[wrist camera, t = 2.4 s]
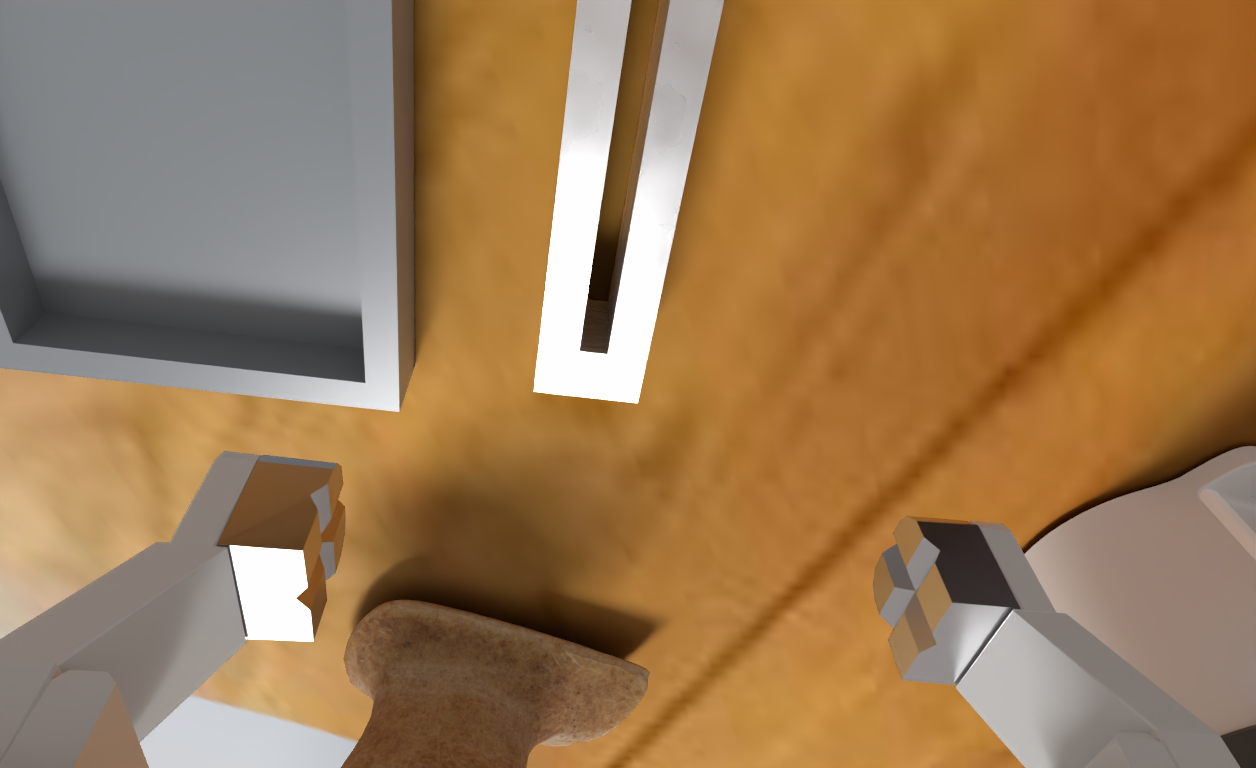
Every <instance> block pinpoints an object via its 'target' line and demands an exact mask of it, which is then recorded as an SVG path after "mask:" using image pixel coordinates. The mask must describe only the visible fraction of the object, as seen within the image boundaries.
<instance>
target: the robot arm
mask: <svg viewBox="0 0 1256 768" xmlns="http://www.w3.org/2000/svg"><path fill="white" fill-rule="evenodd" d="M342 486H343V476H342V467H341V466H340V465H339V464H338V463H329V462H321V461H312V460H304V459H295V458H286V457H278V456H269V455H263V456H262V455H254V454H246V453H237V452H229V451H224V452H223V453H222V454H221V455H219V456H218V457H217V458H216V459H215V460H214V462H213V464H212V466H211V468H210V469H209V471H208V473H207V475H206V477H205V478H204V480H203V482H202V484H201V486H200V487H199V489H198V491H197V493H196V495H195V497H194V498H193V500H192V502H191V504H190V506H189V507H188V509H187V511H186V513H185V515H184V517H183V518H182V520H181V522H180V524H179V526H178V527H177V529H176V531H175V533H174V535H173V536H172V538H171V540H170V542H169V543H168V542H156V543H154V544H153V545H151V546H150V547H148V548H146V549H145V550H143V551H142V552H140V553H138V554H137V555H135V556H134V557H132V558H130V559H129V560H127V561H125V562H124V563H122V564H121V565H119V566H117V567H116V568H114V569H113V570H111V571H109V572H108V573H106V574H105V575H103V576H101V577H100V578H98V579H96V580H95V581H93V582H92V583H90V584H88V585H87V586H85V587H84V588H82V589H80V590H79V591H77V592H76V593H74V594H72V595H71V596H69V597H68V598H66V599H64V600H63V601H61V602H59V603H58V604H56V605H55V606H53V607H51V608H50V609H48V610H47V611H45V612H43V613H42V614H40V615H39V616H37V617H35V618H34V619H32V620H30V621H29V622H27V623H26V624H24V625H22V626H21V627H19V628H18V629H16V630H14V631H13V632H11V633H10V634H8V635H6V636H5V637H3V638H1V639H0V768H149V767H148V764H147V762H146V759H145V756H144V754H143V751H142V748H141V746H140V742H141V741H142V740H143V739H144V738H145V737H146V736H147V735H148V734H149V733H150V732H151V731H152V730H153V729H154V728H155V727H157V726H158V725H159V724H160V723H161V722H162V721H163V720H164V719H165V718H166V717H167V716H168V715H169V714H170V713H171V712H173V711H174V710H175V709H176V708H177V707H178V706H179V705H180V704H181V703H182V702H183V701H184V700H185V699H187V698H188V697H189V696H190V695H191V694H192V693H193V692H194V691H195V690H196V689H197V688H198V687H200V686H201V685H202V684H203V683H204V682H205V681H206V680H207V679H208V678H209V677H210V676H211V675H212V674H213V673H215V672H216V671H217V670H218V669H219V668H220V667H221V666H222V665H223V664H224V663H225V662H226V661H227V660H228V659H230V658H231V657H232V656H233V655H234V654H235V653H236V652H237V651H238V650H239V649H240V648H241V647H242V646H243V645H245V644H246V639H265V640H291V641H314V638H315V635H316V632H317V629H318V626H319V623H320V620H321V617H322V614H323V611H324V608H325V605H326V602H327V593H326V582H325V581H326V580H327V579H328V578H330V577H331V576H332V575H334V574H335V573H336V570H337V567H338V563H339V560H340V557H341V552H342V547H343V541H344V536H345V520H346V518H345V506H344V505H343V504H342V503H341V502H340V501H339V500H338V498H339V495H340V492H341V489H342ZM893 535H894V537H895V540H896V543H897V544H896V545H894V546H893V547H891V548H890V549H888V550H886V551H885V552H883V553H882V555H881V557H880V559H879V561H878V563H877V565H876V567H875V572H874V581H873V590H874V598H875V602H876V605H877V609H878V612H879V615H881V616H882V617H883V618H884V619H885V620H886V621H887V622H888V623H889V624H890V625H891V626H892V627H893V630H892V633H891V635H890V637H889V639H888V641H889V644H890V647H891V650H892V653H893V656H894V659H895V662H896V665H897V667H898V670H899V673H900V676H901V679H902V680H908V681H919V682H929V683H940V684H951V685H957V686H956V689H957V690H958V691H959V692H960V693H961V695H962V696H963V697H964V698H965V699H966V700H967V701H968V703H969V704H970V705H971V706H972V707H973V708H974V709H975V711H976V712H977V713H978V714H979V715H980V716H981V717H982V719H983V720H984V721H985V722H986V723H987V724H988V725H989V727H990V728H991V729H992V730H993V731H994V732H995V733H996V735H997V736H998V737H999V738H1000V739H1001V740H1002V741H1003V743H1004V744H1005V745H1006V746H1007V747H1008V748H1009V750H1010V751H1011V752H1012V753H1013V754H1014V755H1015V756H1016V758H1017V759H1018V760H1019V761H1020V762H1021V763H1022V764H1023V766H1024V767H1025V768H1256V446H1244V447H1240V448H1236V449H1233V450H1231V451H1228V452H1226V453H1224V454H1221V455H1219V456H1217V457H1215V458H1213V459H1211V460H1210V461H1208V462H1206V463H1204V464H1202V465H1200V466H1199V467H1197V468H1195V469H1193V470H1191V471H1190V472H1188V473H1186V474H1184V475H1183V476H1181V477H1179V478H1177V479H1174V480H1172V481H1169V482H1166V483H1163V484H1160V485H1157V486H1154V487H1150V488H1147V489H1144V490H1140V491H1137V492H1133V493H1130V494H1127V495H1124V496H1121V497H1118V498H1115V499H1113V500H1110V501H1107V502H1105V503H1103V504H1100V505H1098V506H1096V507H1093V508H1091V509H1089V510H1087V511H1085V512H1083V513H1081V514H1079V515H1077V516H1076V517H1074V518H1072V519H1070V520H1068V521H1067V522H1065V523H1063V524H1062V525H1060V526H1059V527H1057V528H1056V529H1054V530H1053V531H1051V532H1050V533H1049V534H1047V535H1046V536H1044V537H1043V538H1042V539H1041V540H1039V541H1038V542H1037V543H1036V544H1035V545H1034V546H1032V547H1031V548H1030V549H1029V550H1028V551H1027V552H1026V553H1025V554H1024V553H1023V551H1022V549H1021V548H1020V546H1019V544H1018V542H1017V540H1016V539H1015V537H1014V535H1013V533H1012V531H1011V530H1010V529H1009V528H1007V527H1006V526H1005V525H1004V524H998V523H986V522H974V521H970V522H968V521H961V520H949V519H937V518H925V517H913V516H906V517H905V518H904V519H902V520H901V521H899V523H898V525H897V527H896V528H895V530H894V532H893Z"/></svg>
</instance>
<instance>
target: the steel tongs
mask: <svg viewBox="0 0 1256 768" xmlns="http://www.w3.org/2000/svg"><path fill="white" fill-rule="evenodd" d="M631 1H632V0H578V1H577V10H576V18H575V27H574V36H573V45H572V54H571V63H570V72H569V81H568V90H567V99H566V108H565V117H564V126H563V135H562V144H561V153H560V162H559V171H558V180H557V189H556V198H555V207H554V216H553V225H552V234H551V243H550V252H549V261H548V270H547V279H546V288H545V296H544V305H543V314H542V323H541V332H540V341H539V350H538V359H537V368H536V377H535V386H534V391H535V392H544V393H553V394H561V395H570V396H579V397H588V398H596V399H605V400H614V401H622V402H631V403H638V399H639V395H640V390H641V385H642V381H643V376H644V371H645V367H646V362H647V358H648V353H649V348H650V344H651V339H652V334H653V330H654V325H655V320H656V316H657V311H658V306H659V302H660V297H661V292H662V288H663V283H664V278H665V274H666V269H667V264H668V260H669V255H670V250H671V246H672V241H673V236H674V232H675V227H676V222H677V218H678V213H679V208H680V204H681V199H682V194H683V190H684V185H685V180H686V176H687V171H688V167H689V162H690V157H691V153H692V148H693V143H694V139H695V134H696V129H697V125H698V120H699V115H700V111H701V106H702V101H703V97H704V92H705V87H706V83H707V78H708V73H709V69H710V64H711V59H712V55H713V50H714V45H715V41H716V36H717V31H718V27H719V22H720V17H721V13H722V8H723V3H724V0H659V3H658V9H657V15H656V21H655V27H654V33H653V39H652V45H651V50H650V56H649V62H648V68H647V74H646V80H645V86H644V92H643V98H642V104H641V110H640V116H639V122H638V127H637V133H636V139H635V145H634V151H633V157H632V163H631V169H630V175H629V181H628V187H627V193H626V199H625V204H624V210H623V216H622V222H621V228H620V234H619V240H618V246H617V252H616V258H615V264H614V270H613V276H612V281H611V287H610V293H609V299H608V302H607V301H600V300H592V299H587V295H588V289H589V282H590V275H591V269H592V262H593V255H594V249H595V242H596V235H597V229H598V222H599V215H600V209H601V202H602V195H603V188H604V182H605V175H606V168H607V162H608V155H609V148H610V142H611V135H612V128H613V122H614V115H615V108H616V102H617V95H618V88H619V81H620V75H621V68H622V61H623V55H624V48H625V41H626V35H627V28H628V21H629V15H630V8H631Z"/></svg>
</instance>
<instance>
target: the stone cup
mask: <svg viewBox="0 0 1256 768" xmlns="http://www.w3.org/2000/svg"><path fill="white" fill-rule="evenodd" d="M344 662H345V667H346V671H347V674H348V676H349V679H350V682H351V683H352V684H353V685H354V686H355V687H356V688H358V689H359V690H360V691H361V692H363V693H364V694H366V695H367V696H369V697H370V698H372V699H373V701H374V704H373V709H372V714H371V718H370V720H369V722H368V724H367V726H366V728H365V730H364V733H363V735H362V736H361V738H360V739H359V741H358V743H357V744H356V746H355V748H354V749H353V751H352V752H351V754H350V755H349V757H348V758H347V759H346V761H345V762H344V764H343V765H342V767H341V768H526V765H527V760H528V755H529V753H530V752H531V750H532V749H533V747H535V746H536V745H538V744H541V745H547V746H568V745H571V744H573V743H575V742H588V741H591V740H593V739H595V738H598V737H601V736H603V735H605V734H607V733H609V732H610V731H612V730H613V729H615V728H616V727H617V726H618V725H620V724H621V722H622V721H623V720H624V719H625V718H627V717H628V716H629V715H630V713H631V712H632V711H633V710H634V709H635V707H636V706H637V705H638V704H639V702H640V701H641V699H642V698H643V696H644V695H645V692H646V690H647V685H648V676H649V673H650V672H649V671H648V670H647V669H646V668H643V667H641V666H639V665H637V664H635V663H632V662H629V661H626V660H623V659H620V658H618V657H615V656H612V655H608V654H605V653H602V652H599V651H596V650H594V649H591V648H588V647H585V646H582V645H579V644H576V643H573V642H570V641H566V640H563V639H560V638H557V637H554V636H551V635H548V634H545V633H542V632H538V631H535V630H532V629H529V628H525V627H522V626H518V625H515V624H511V623H508V622H504V621H501V620H497V619H494V618H490V617H486V616H482V615H478V614H475V613H471V612H467V611H463V610H459V609H455V608H450V607H446V606H442V605H437V604H433V603H427V602H422V601H414V600H394V601H389V602H386V603H383V604H381V605H379V606H377V607H376V608H374V609H373V610H372V611H371V612H369V613H368V614H367V615H366V616H365V617H364V618H363V619H362V620H361V621H360V622H359V623H358V624H357V626H356V627H355V628H354V630H353V632H352V634H351V636H350V638H349V640H348V643H347V646H346V651H345V655H344Z"/></svg>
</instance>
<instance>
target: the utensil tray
mask: <svg viewBox="0 0 1256 768" xmlns="http://www.w3.org/2000/svg"><path fill="white" fill-rule="evenodd" d="M414 366H415V191H414V0H0V368H5V369H14V370H23V371H32V372H41V373H51V374H60V375H69V376H78V377H87V378H96V379H105V380H114V381H123V382H132V383H142V384H151V385H160V386H169V387H178V388H187V389H196V390H205V391H214V392H223V393H233V394H242V395H251V396H260V397H269V398H278V399H287V400H296V401H305V402H314V403H324V404H333V405H342V406H351V407H360V408H369V409H378V410H387V411H396V412H400V409H401V406H402V403H403V400H404V397H405V394H406V391H407V388H408V385H409V381H410V378H411V375H412V372H413V369H414Z"/></svg>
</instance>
